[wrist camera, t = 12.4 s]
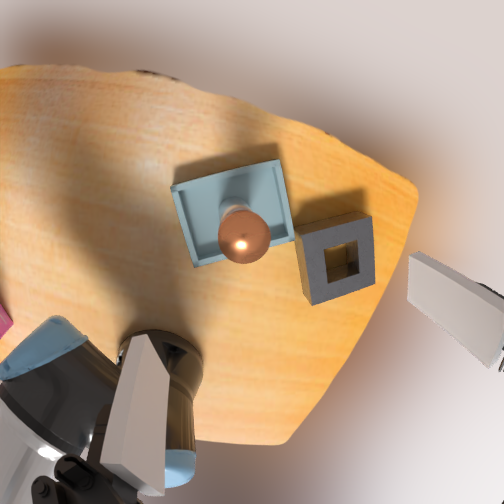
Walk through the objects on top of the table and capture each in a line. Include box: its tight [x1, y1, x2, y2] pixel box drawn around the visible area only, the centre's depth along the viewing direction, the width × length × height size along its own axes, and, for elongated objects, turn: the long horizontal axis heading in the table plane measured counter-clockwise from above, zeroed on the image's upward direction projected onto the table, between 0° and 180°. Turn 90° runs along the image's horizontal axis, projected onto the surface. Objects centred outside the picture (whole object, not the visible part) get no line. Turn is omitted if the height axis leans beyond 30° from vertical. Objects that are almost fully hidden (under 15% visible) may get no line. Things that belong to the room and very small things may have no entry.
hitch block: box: [293, 211, 375, 306], centre depth 40 cm, size 11×11×4 cm
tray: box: [170, 159, 295, 268], centre depth 36 cm, size 14×11×2 cm
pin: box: [218, 197, 271, 264], centre depth 30 cm, size 5×5×13 cm
